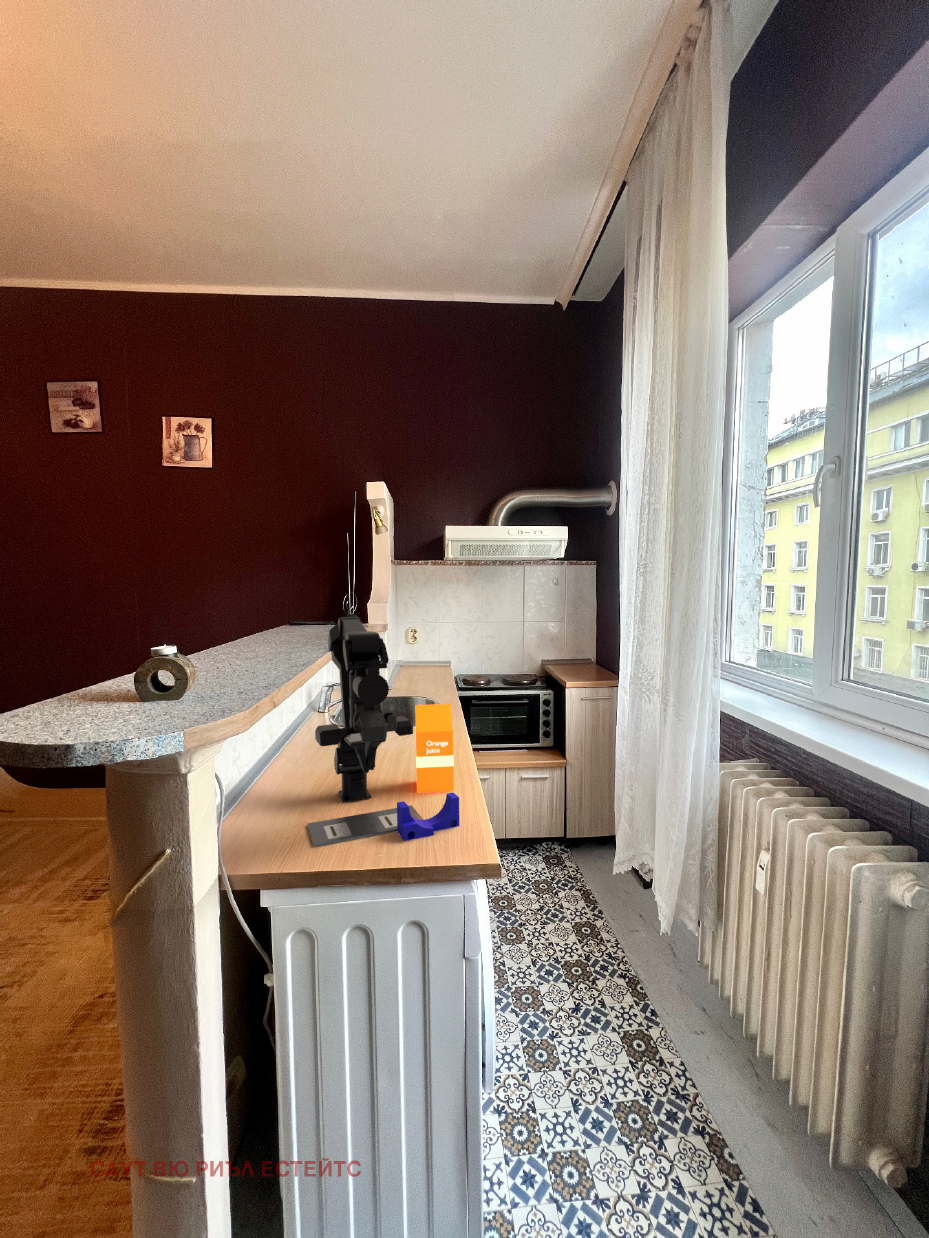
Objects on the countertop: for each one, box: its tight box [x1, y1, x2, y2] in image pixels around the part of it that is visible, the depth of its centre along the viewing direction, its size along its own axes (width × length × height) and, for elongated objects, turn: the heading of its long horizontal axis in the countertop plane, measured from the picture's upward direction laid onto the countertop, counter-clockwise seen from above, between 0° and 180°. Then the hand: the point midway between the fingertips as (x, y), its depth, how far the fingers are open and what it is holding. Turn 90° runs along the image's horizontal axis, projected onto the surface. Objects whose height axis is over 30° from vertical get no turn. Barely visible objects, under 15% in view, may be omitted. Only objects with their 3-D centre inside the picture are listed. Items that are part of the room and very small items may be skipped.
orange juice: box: [415, 703, 455, 794], centre depth 128 cm, size 8×9×20 cm
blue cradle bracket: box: [396, 792, 460, 842], centre depth 104 cm, size 12×4×6 cm, turn 114°
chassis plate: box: [306, 805, 425, 848], centre depth 107 cm, size 10×22×1 cm, turn 113°
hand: (365, 772), depth 107 cm, fingers closed
